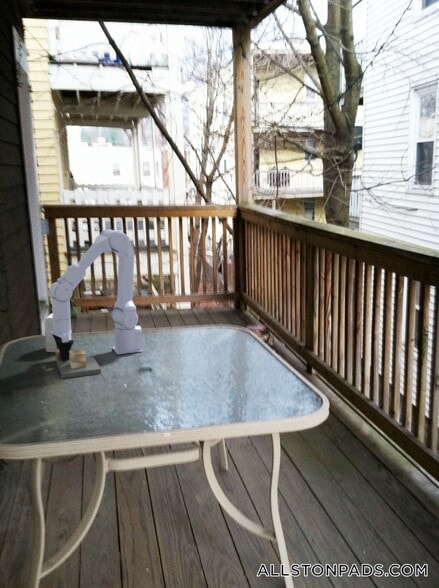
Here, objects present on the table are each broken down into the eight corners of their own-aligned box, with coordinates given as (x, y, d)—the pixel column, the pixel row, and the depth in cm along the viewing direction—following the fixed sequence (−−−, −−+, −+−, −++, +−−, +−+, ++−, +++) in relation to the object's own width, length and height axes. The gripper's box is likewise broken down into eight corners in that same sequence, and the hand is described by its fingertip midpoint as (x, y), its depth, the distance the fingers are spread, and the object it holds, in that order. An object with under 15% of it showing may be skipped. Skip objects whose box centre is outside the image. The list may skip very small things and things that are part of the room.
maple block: (83, 362, 175) (83, 349, 174) (86, 366, 171) (85, 353, 170) (69, 363, 173) (69, 350, 172) (71, 368, 169) (71, 355, 168)
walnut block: (69, 359, 182) (69, 347, 181) (71, 363, 178) (71, 351, 177) (56, 361, 180) (55, 348, 179) (57, 365, 176) (57, 352, 175)
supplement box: (66, 352, 189) (64, 318, 186) (45, 352, 189) (43, 318, 186) (72, 346, 196) (70, 313, 194) (52, 345, 196) (50, 312, 194)
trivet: (93, 361, 180) (93, 357, 180) (100, 373, 170) (100, 368, 169) (57, 365, 175) (57, 361, 175) (62, 378, 165) (62, 373, 164)
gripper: (46, 313, 181) (48, 351, 184) (51, 324, 168) (53, 365, 171) (67, 312, 184) (69, 349, 186) (74, 322, 171) (76, 362, 173)
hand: (63, 356), depth 179 cm, fingers open, 7 cm apart
